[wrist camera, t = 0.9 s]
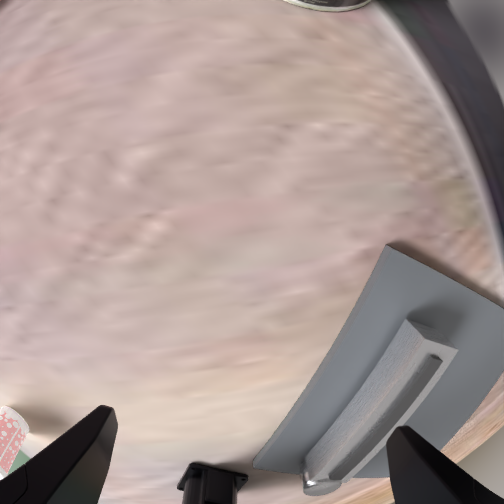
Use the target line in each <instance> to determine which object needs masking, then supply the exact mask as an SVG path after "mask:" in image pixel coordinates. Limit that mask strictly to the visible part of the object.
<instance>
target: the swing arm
mask: <svg viewBox="0 0 504 504" xmlns="http://www.w3.org/2000/svg"><path fill="white" fill-rule="evenodd" d="M457 352H458V349H457V348H456V347H455V346H454V345H453V344H452V343H451V342H450V341H449V340H448V339H447V338H446V337H445V336H444V335H443V334H442V333H441V332H440V331H438V330H435V329H433V328H430V327H427V326H425V325H422V324H419V323H416V322H414V321H411V320H408V319H406V318H405V320H404V322H403V323H402V325H401V327H400V328H399V330H398V332H397V333H396V335H395V337H394V338H393V340H392V342H391V343H390V345H389V346H388V348H387V350H386V351H385V353H384V354H383V356H382V357H381V359H380V360H379V362H378V363H377V365H376V366H375V368H374V369H373V371H372V372H371V374H370V375H369V377H368V378H367V379H366V381H365V382H364V384H363V385H362V387H361V388H360V389H359V391H358V392H357V393H356V395H355V396H354V398H353V399H352V400H351V402H350V403H349V404H348V406H347V407H346V408H345V409H344V411H343V412H342V413H341V415H340V416H339V417H338V418H337V420H336V421H335V422H334V423H333V425H332V426H331V427H330V428H329V429H328V431H327V432H326V433H325V434H324V435H323V437H322V438H321V439H320V440H319V441H318V443H317V444H316V445H315V446H314V447H313V448H312V449H311V451H310V452H309V453H308V454H307V455H306V456H305V460H304V461H303V462H302V463H301V464H300V466H299V469H300V475H301V480H302V486H303V491H304V493H305V494H306V495H310V496H320V495H325V494H328V493H331V492H333V491H335V490H336V489H338V488H339V487H340V486H341V484H342V483H347V482H348V481H349V480H350V479H351V478H352V477H353V476H354V475H355V474H356V473H358V472H359V471H360V470H361V469H362V468H363V467H364V466H365V465H366V464H367V463H368V462H369V461H370V460H371V459H372V458H373V457H374V456H375V455H376V454H377V453H378V452H379V451H380V450H381V449H382V448H383V447H384V446H385V445H386V442H387V440H388V438H389V437H390V435H391V434H392V432H393V431H394V430H395V428H396V427H398V426H403V425H404V424H405V422H406V421H407V420H408V419H409V418H410V416H411V415H412V414H413V413H414V412H415V410H416V409H417V408H418V407H419V405H420V404H421V403H422V402H423V400H424V399H425V398H426V396H427V395H428V394H429V392H430V391H431V390H432V388H433V387H434V386H435V384H436V383H437V382H438V380H439V379H440V377H441V376H442V374H443V373H444V372H445V370H446V369H447V367H448V366H449V364H450V363H451V361H452V360H453V358H454V357H455V355H456V354H457Z"/></svg>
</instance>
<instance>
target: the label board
mask: <svg viewBox="0 0 504 504" xmlns="http://www.w3.org/2000/svg"><path fill="white" fill-rule="evenodd" d="M405 318H406V319H408V320H411V321H414V322H416V323H419V324H422V325H425V326H427V327H430V328H433V329H435V330H438V331H440V332H441V333H442V334H443V335H444V336H445V337H446V338H447V339H448V340H449V341H450V342H451V343H452V344H453V345H454V346H455V347H456V348H457V349H458V352H457V354H456V355H455V357H454V358H453V360H452V361H451V363H450V364H449V366H448V367H447V369H446V370H445V372H444V373H443V374H442V376H441V377H440V379H439V380H438V382H437V383H436V384H435V386H434V387H433V388H432V390H431V391H430V392H429V394H428V395H427V396H426V398H425V399H424V400H423V402H422V403H421V404H420V405H419V407H418V408H417V409H416V410H415V412H414V413H413V414H412V415H411V416H410V418H409V419H408V420H407V421H406V422H405V424H404V425H408V426H410V427H411V428H412V429H413V430H415V431H416V432H417V433H418V434H419V435H421V436H422V437H423V438H424V439H426V440H427V441H428V442H429V443H430V444H432V445H433V446H434V447H435V448H437V449H438V450H439V451H440V450H441V449H442V448H443V447H444V446H445V445H446V444H447V443H448V442H449V441H450V439H451V438H452V437H453V436H454V435H455V434H456V433H457V432H458V430H459V429H460V428H461V427H462V426H463V425H464V423H465V422H466V421H467V420H468V419H469V417H470V416H471V415H472V414H473V413H474V411H475V410H476V409H477V407H478V406H479V405H480V404H481V402H482V401H483V400H484V398H485V397H486V396H487V394H488V393H489V392H490V390H491V389H492V387H493V386H494V384H495V383H496V382H497V380H498V379H499V377H500V376H501V374H502V373H503V371H504V308H502V307H501V306H499V305H497V304H495V303H494V302H492V301H490V300H489V299H487V298H485V297H483V296H482V295H480V294H478V293H476V292H475V291H473V290H471V289H469V288H468V287H466V286H464V285H462V284H460V283H459V282H457V281H455V280H453V279H451V278H449V277H448V276H446V275H444V274H442V273H440V272H438V271H436V270H435V269H433V268H431V267H429V266H427V265H425V264H423V263H421V262H419V261H417V260H415V259H413V258H411V257H409V256H408V255H406V254H404V253H402V252H400V251H398V250H396V249H394V248H392V247H390V246H388V245H385V247H384V250H383V252H382V254H381V256H380V258H379V260H378V262H377V264H376V266H375V268H374V270H373V272H372V274H371V276H370V278H369V280H368V282H367V284H366V286H365V288H364V290H363V292H362V293H361V295H360V297H359V299H358V301H357V303H356V305H355V307H354V308H353V310H352V312H351V314H350V316H349V317H348V319H347V321H346V323H345V325H344V326H343V328H342V330H341V331H340V333H339V335H338V337H337V338H336V340H335V342H334V343H333V345H332V347H331V348H330V350H329V352H328V353H327V355H326V357H325V358H324V360H323V362H322V363H321V365H320V366H319V368H318V370H317V371H316V373H315V374H314V376H313V377H312V379H311V380H310V382H309V384H308V385H307V387H306V388H305V390H304V391H303V393H302V394H301V396H300V397H299V399H298V400H297V401H296V403H295V404H294V406H293V407H292V409H291V410H290V412H289V413H288V414H287V416H286V417H285V419H284V420H283V421H282V423H281V424H280V426H279V427H278V428H277V430H276V431H275V432H274V434H273V435H272V437H271V438H270V439H269V441H268V442H267V443H266V444H265V446H264V447H263V448H262V450H261V451H260V452H259V454H258V455H257V456H256V457H255V459H254V460H253V468H256V469H262V470H268V471H275V472H282V473H290V474H299V475H300V469H299V466H300V464H301V463H302V462H303V461H304V460H305V456H306V455H307V454H308V453H309V452H310V451H311V449H312V448H313V447H314V446H315V445H316V444H317V443H318V441H319V440H320V439H321V438H322V437H323V435H324V434H325V433H326V432H327V431H328V429H329V428H330V427H331V426H332V425H333V423H334V422H335V421H336V420H337V418H338V417H339V416H340V415H341V413H342V412H343V411H344V409H345V408H346V407H347V406H348V404H349V403H350V402H351V400H352V399H353V398H354V396H355V395H356V393H357V392H358V391H359V389H360V388H361V387H362V385H363V384H364V382H365V381H366V379H367V378H368V377H369V375H370V374H371V372H372V371H373V369H374V368H375V366H376V365H377V363H378V362H379V360H380V359H381V357H382V356H383V354H384V353H385V351H386V350H387V348H388V346H389V345H390V343H391V342H392V340H393V338H394V337H395V335H396V333H397V332H398V330H399V328H400V327H401V325H402V323H403V322H404V320H405ZM383 477H390V474H389V466H388V458H387V450H386V445H385V446H384V447H383V448H382V449H381V450H380V451H379V452H378V453H377V454H376V455H375V456H374V457H373V458H372V459H371V460H370V461H369V462H368V463H367V464H366V465H365V466H364V467H363V468H362V469H361V470H360V471H359V472H358V473H356V474H355V475H354V476H353V477H352V478H383Z"/></svg>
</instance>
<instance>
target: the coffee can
mask: <svg viewBox="0 0 504 504" xmlns="http://www.w3.org/2000/svg"><path fill="white" fill-rule="evenodd" d="M284 1H286V2H288V3H291V4H294V5H297V6H300V7H304V8H308V9H312V10H317V11H329V12H339V11H348V10H353V9H356V8H359V7H362V6H364V5H366V4H367V3H369V2H370V1H371V0H284Z"/></svg>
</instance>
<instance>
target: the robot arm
mask: <svg viewBox="0 0 504 504" xmlns="http://www.w3.org/2000/svg"><path fill="white" fill-rule="evenodd" d="M117 429H118V423H117V419H116V415H115V411H114V409H113V408H112V407H109V406H105V405H100V406H98V407H97V408H96V409H95V410H93V411H92V412H91V413H90V414H88V415H87V416H86V417H84V418H83V419H82V420H81V421H79V422H78V423H77V424H75V425H74V426H73V427H72V428H70V429H69V430H68V431H67V432H65V433H64V434H63V435H61V436H60V437H59V438H57V439H56V440H55V441H54V442H52V443H51V444H50V445H48V446H47V447H46V448H44V449H43V450H42V451H41V452H39V453H38V454H37V455H35V456H34V457H33V458H31V459H30V460H29V461H27V462H26V463H25V464H23V465H22V466H21V467H19V468H18V469H17V470H15V471H14V472H12V473H11V474H9V475H8V476H6V477H5V478H3V479H1V480H0V504H97V503H98V500H99V497H100V494H101V491H102V488H103V485H104V482H105V479H106V476H107V473H108V470H109V466H110V462H111V457H112V452H113V447H114V443H115V438H116V434H117ZM386 450H387V458H388V466H389V474H390V481H391V486H392V491H393V495H394V500H395V504H504V499H503V498H501V497H500V496H498V495H496V494H495V493H493V492H492V491H490V490H489V489H487V488H486V487H484V486H483V485H482V484H480V483H479V482H478V481H477V480H475V479H473V477H471V476H470V475H469V474H468V473H466V472H465V471H464V470H463V469H461V468H460V467H459V466H457V465H456V464H455V463H454V462H453V461H451V460H450V459H449V458H448V457H446V456H445V455H444V454H443V453H441V452H440V451H439V450H438V449H437V448H435V447H434V446H433V445H432V444H430V443H429V442H428V441H427V440H426V439H424V438H423V437H422V436H421V435H419V434H418V433H417V432H416V431H415V430H413V429H412V428H411V427H410V426H408V425H403V426H398V427H396V428H395V430H394V431H393V432H392V434H391V435H390V437H389V438H388V440H387V442H386ZM247 481H248V476H247V475H244V474H238V473H233V472H228V471H224V470H219V469H215V468H210V467H206V466H202V465H198V464H194V463H191V464H189V466H188V467H187V469H186V471H185V473H184V474H183V476H182V478H181V480H180V481H179V483H178V485H177V489H178V490H181V491H184V494H183V502H182V504H237V492H238V491H239V490H240V489H241V487H242V486H243V485H244V484H245V483H246V482H247Z"/></svg>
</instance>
